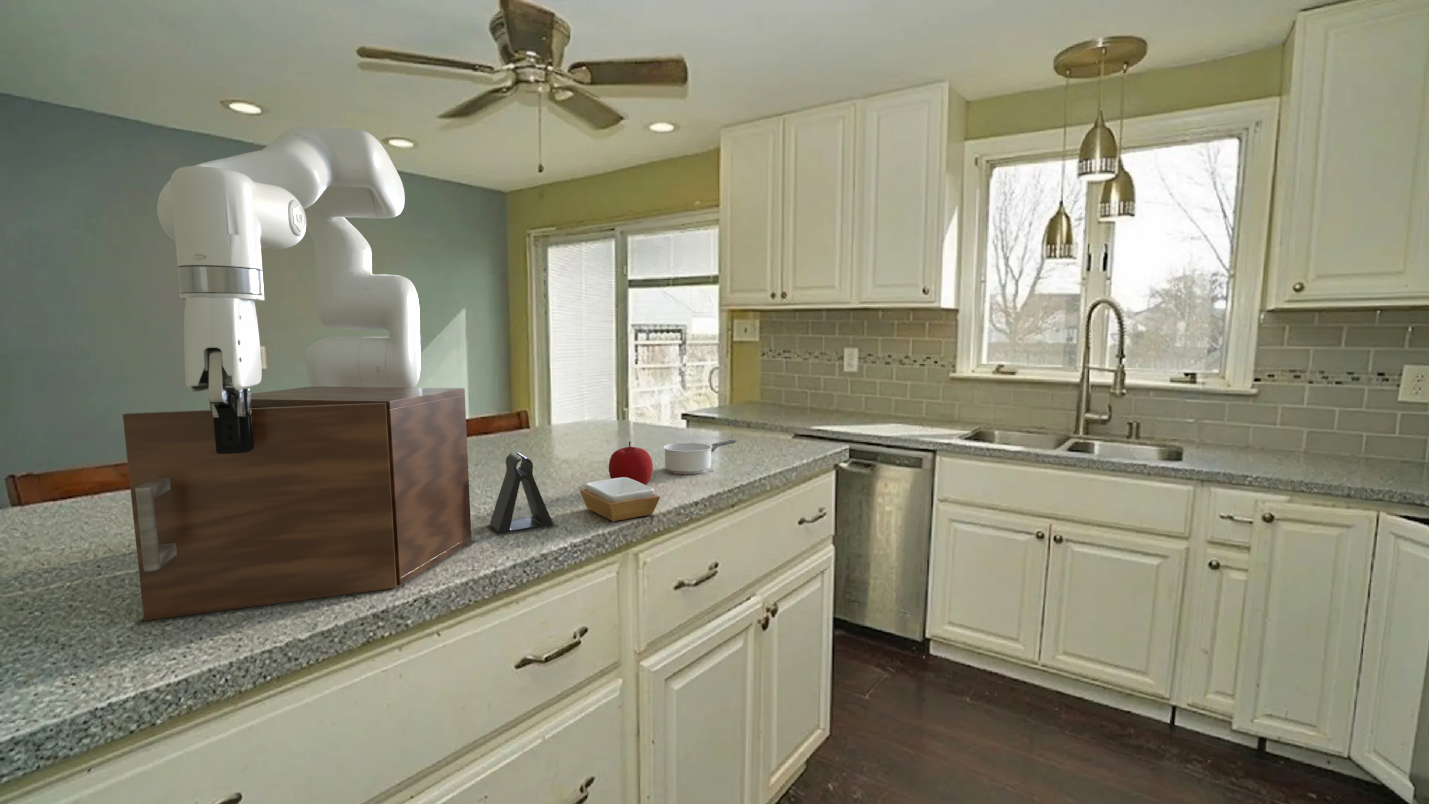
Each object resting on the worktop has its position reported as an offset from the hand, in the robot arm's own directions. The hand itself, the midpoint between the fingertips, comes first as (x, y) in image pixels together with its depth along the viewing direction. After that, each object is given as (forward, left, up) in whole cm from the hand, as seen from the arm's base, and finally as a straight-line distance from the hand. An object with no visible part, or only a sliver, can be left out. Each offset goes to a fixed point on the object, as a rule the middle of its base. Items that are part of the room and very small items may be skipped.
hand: (235, 451), depth 75 cm
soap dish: (+29, +48, -20) cm, 60 cm away
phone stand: (+15, +38, -20) cm, 46 cm away
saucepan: (+37, +88, -20) cm, 98 cm away
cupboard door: (+2, +2, -19) cm, 19 cm away
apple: (+26, +66, -20) cm, 74 cm away
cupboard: (-2, +20, -19) cm, 28 cm away
